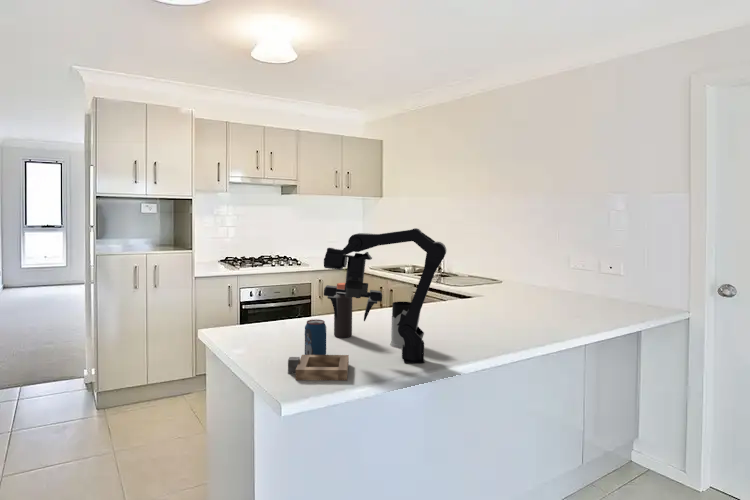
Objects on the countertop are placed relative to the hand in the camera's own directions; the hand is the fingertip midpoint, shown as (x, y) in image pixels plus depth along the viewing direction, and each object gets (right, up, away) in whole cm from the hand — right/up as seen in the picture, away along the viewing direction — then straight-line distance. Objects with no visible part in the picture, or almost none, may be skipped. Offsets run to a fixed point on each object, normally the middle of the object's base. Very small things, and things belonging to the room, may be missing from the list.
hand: (350, 319), depth 165 cm
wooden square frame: (-9, -14, -14) cm, 22 cm away
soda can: (-11, -13, 0) cm, 17 cm away
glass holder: (+17, -11, +19) cm, 28 cm away
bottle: (-4, -10, +28) cm, 30 cm away
